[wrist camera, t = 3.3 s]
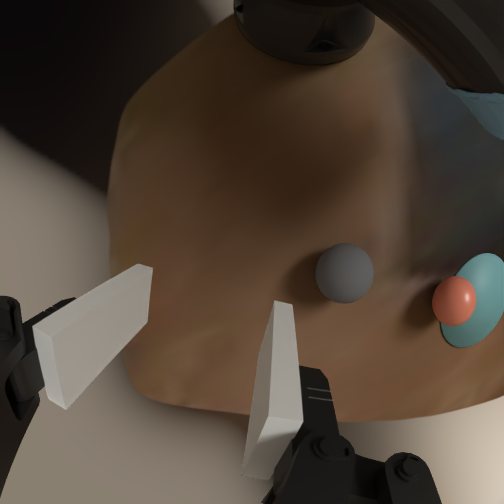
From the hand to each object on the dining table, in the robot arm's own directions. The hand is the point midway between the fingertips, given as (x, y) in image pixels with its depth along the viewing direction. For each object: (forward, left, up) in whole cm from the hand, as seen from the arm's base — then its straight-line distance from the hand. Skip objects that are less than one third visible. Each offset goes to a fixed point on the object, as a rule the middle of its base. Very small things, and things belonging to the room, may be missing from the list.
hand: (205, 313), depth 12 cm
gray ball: (+9, +3, -14) cm, 17 cm away
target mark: (+29, +10, -17) cm, 35 cm away
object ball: (+22, +8, -14) cm, 27 cm away
